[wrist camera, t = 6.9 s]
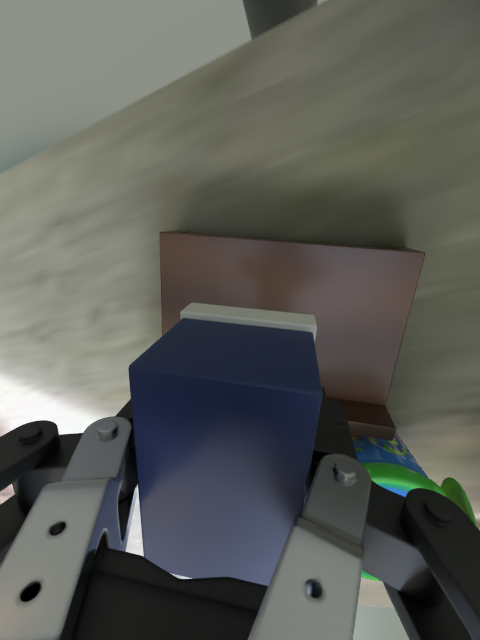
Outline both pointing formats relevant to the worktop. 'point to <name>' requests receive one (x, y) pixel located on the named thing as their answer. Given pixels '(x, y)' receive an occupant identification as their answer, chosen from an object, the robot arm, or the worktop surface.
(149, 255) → the worktop surface
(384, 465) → the snack cup
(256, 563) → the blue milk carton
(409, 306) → the wooden display stand
